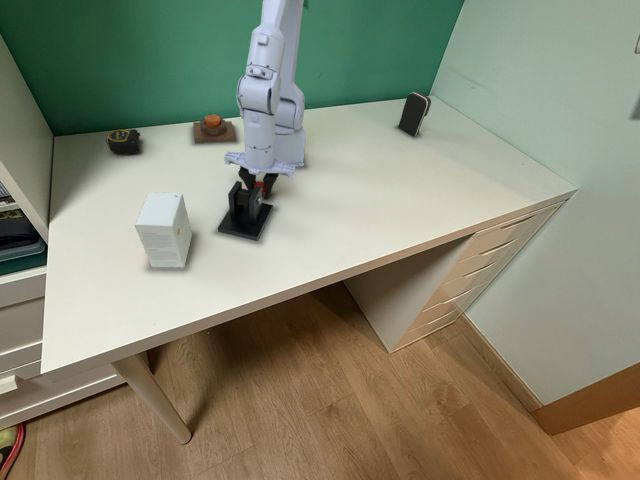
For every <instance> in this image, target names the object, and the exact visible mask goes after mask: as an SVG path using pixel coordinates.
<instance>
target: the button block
mask: <svg viewBox="0 0 640 480" xmlns="http://www.w3.org/2000/svg"><path fill="white" fill-rule="evenodd" d="M192 124H193V125H192V126H193V139H194V144H195V145H197V144H198V145H199V144H210V143H216V144H217V143H236V136H235V130H234V126H233V121H231V120H230V121H227V120H225V119H223V118H222V117H220V126H217V127H210V126H207V125H206V121H205V117H204V118H202V119H201V120H199V121H194V122H193V123H192Z"/></svg>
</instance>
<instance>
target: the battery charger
mask: <svg viewBox="0 0 640 480" xmlns="http://www.w3.org/2000/svg"><path fill="white" fill-rule="evenodd" d="M405 99H406V100H405V102H404V105H403V109H402V114H401V117H400V120H399V123H398V126H397V128H399V129H400V130H402V131H403V132H404V133H406V134H409V135H410V136H412V137H416V136H418V135H419V133H420V128H421V126H422V124H423V121H424V119H425V117H427V116H428V113H429V110H430V109H431V108H430V107H431V105H432V100H431V97H429V96H427V95H425V94H423V93H422V92H419V91H413V92H410V93H409V94H407V97H406V98H405Z"/></svg>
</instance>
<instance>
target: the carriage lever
mask: <svg viewBox="0 0 640 480" xmlns="http://www.w3.org/2000/svg"><path fill="white" fill-rule="evenodd" d="M257 185H258V186H262V195H263V194H264V193H265V189H264V183H263V180H256V183H255V184H254V186H253V188H252V189H251V190H248V189H247V188H242V190H241V191H239V192H238V199H237V204H239V205H243V206H249V198H250V196H251V195H252V193H253V191H254V189H255V188H256V186H257Z"/></svg>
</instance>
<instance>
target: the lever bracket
mask: <svg viewBox="0 0 640 480" xmlns="http://www.w3.org/2000/svg"><path fill="white" fill-rule="evenodd" d="M242 189H243V181H239V180H236V182H235V183H234V184H233V185H232V187H231V189H230V190H229V192H228V193H227V200H228V206H229V208H228V210H227V212H226V213H225V215H224V217H223V219H222V220H221V221H220V223H219V225H218V226H217V232H218V233H222V234H226V235H230V236H233V237H238V238H241V239H247V240H250V241H254V242H258V241H259V239H260V238H261V235H262V233H263V231H264V229H265V227H266V225H267V222H268V221H269V218H270V216H271V214H272V213H273V209H274V204H271V203H266V202H263V194H262V186H258V185H257V186H256V188H255V189H254V191H253V193H252V195H251V196H250V198H249V206H243V205H239V204H237V199H238V192H239V191H241V190H242Z"/></svg>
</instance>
